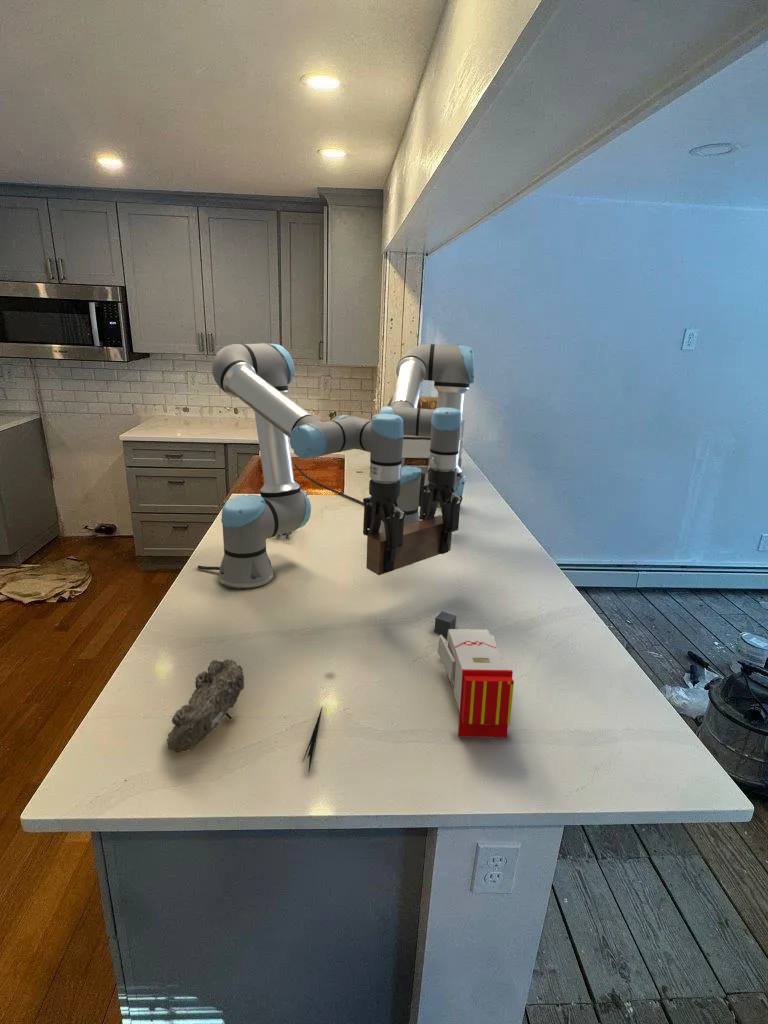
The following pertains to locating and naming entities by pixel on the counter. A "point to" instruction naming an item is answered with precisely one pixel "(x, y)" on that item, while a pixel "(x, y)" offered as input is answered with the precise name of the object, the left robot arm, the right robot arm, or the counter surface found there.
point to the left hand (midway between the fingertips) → (381, 567)
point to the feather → (313, 740)
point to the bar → (407, 544)
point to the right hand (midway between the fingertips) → (436, 549)
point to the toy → (478, 682)
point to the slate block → (444, 623)
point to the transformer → (422, 440)
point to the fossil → (206, 705)
